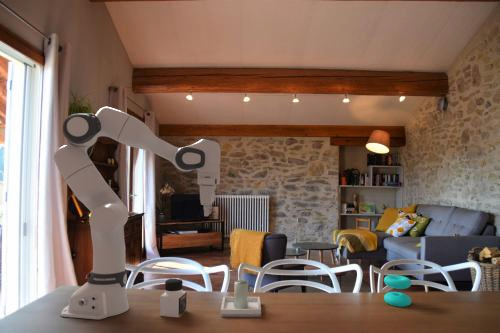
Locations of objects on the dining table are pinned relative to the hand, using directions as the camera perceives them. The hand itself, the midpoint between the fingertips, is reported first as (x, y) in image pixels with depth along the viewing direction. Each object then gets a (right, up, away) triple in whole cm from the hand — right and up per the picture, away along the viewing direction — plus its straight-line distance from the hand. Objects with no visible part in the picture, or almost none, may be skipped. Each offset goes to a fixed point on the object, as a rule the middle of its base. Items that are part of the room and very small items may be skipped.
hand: (207, 214), depth 148 cm
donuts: (+74, -34, -2) cm, 82 cm away
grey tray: (+14, -33, -11) cm, 38 cm away
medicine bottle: (-10, -33, -16) cm, 38 cm away
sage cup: (+14, -32, -11) cm, 37 cm away
